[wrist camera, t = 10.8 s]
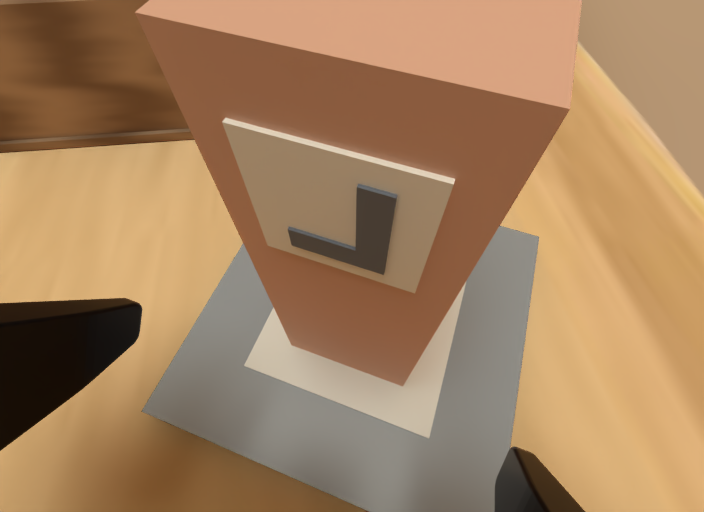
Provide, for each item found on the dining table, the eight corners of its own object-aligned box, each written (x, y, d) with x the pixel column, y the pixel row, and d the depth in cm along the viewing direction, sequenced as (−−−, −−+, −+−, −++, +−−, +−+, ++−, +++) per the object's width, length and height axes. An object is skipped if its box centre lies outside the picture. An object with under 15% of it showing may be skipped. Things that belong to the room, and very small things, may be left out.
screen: (264, 111, 25) (230, -27, 18) (263, 134, 24) (227, -4, 17) (2, 128, 24) (-138, -10, 17) (-11, 153, 23) (-166, 16, 16)
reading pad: (486, 561, 13) (494, 567, 12) (150, 414, 16) (140, 411, 15) (532, 245, 20) (539, 235, 19) (291, 175, 22) (289, 164, 21)
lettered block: (401, 390, 15) (568, 120, 4) (289, 348, 16) (125, 19, 4) (432, 283, 18) (591, -88, 6) (333, 251, 18) (303, -126, 7)
